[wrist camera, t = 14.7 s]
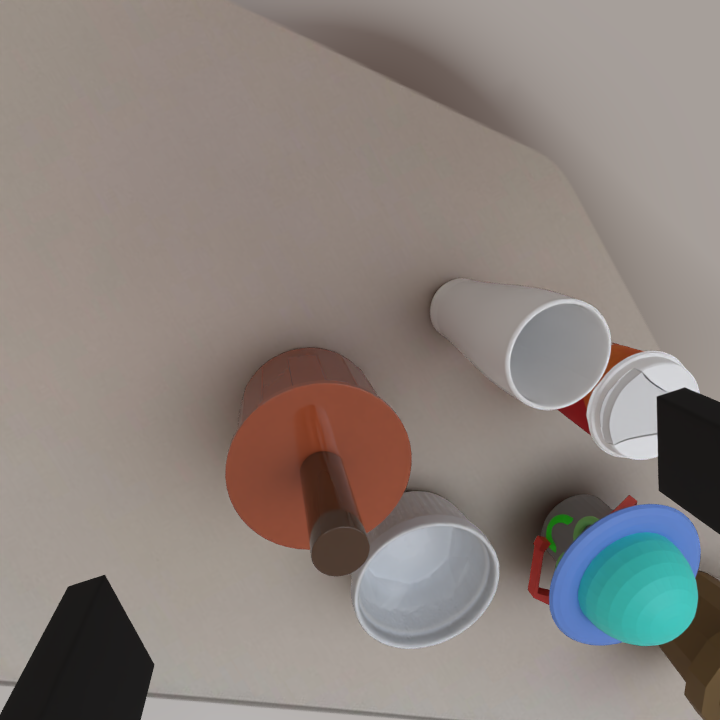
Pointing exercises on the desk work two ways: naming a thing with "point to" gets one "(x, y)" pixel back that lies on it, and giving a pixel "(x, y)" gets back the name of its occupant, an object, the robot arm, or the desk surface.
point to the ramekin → (424, 574)
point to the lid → (319, 470)
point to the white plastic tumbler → (525, 339)
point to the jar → (298, 374)
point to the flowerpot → (700, 650)
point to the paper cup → (629, 401)
